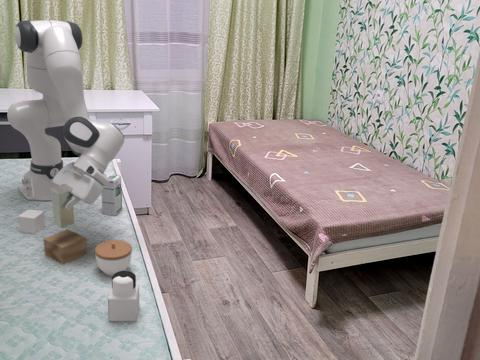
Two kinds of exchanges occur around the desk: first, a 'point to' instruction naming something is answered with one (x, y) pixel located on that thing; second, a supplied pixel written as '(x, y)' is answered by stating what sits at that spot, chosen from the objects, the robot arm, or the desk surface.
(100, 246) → the lidded jar
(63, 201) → the tea tin
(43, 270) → the desk surface
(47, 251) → the walnut block
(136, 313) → the medicine bottle
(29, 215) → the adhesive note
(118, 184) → the syrup box
